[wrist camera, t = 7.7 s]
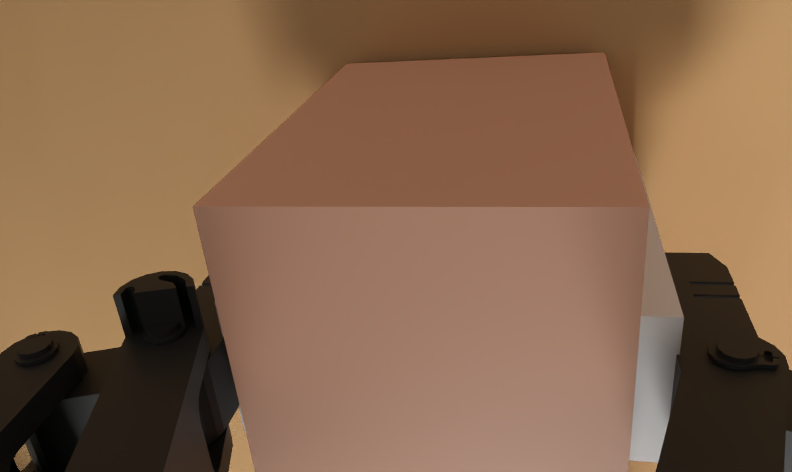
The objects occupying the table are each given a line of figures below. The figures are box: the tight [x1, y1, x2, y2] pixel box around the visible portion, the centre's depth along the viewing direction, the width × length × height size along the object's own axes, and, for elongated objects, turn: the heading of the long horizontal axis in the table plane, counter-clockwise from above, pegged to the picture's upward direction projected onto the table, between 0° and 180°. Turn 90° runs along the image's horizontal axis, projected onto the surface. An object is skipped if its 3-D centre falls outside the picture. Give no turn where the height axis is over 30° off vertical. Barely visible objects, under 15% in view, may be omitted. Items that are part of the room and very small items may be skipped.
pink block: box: [193, 52, 650, 472], centre depth 14 cm, size 6×8×8 cm
